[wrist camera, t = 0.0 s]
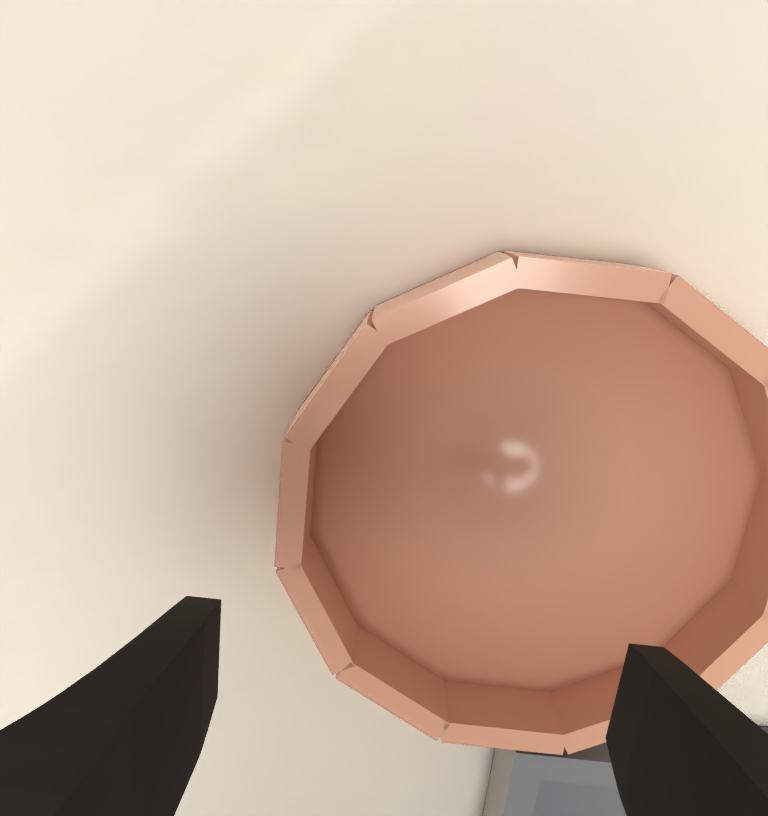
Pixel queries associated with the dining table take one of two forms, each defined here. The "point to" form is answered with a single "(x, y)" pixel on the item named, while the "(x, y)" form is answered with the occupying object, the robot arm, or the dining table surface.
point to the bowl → (530, 497)
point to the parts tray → (553, 784)
